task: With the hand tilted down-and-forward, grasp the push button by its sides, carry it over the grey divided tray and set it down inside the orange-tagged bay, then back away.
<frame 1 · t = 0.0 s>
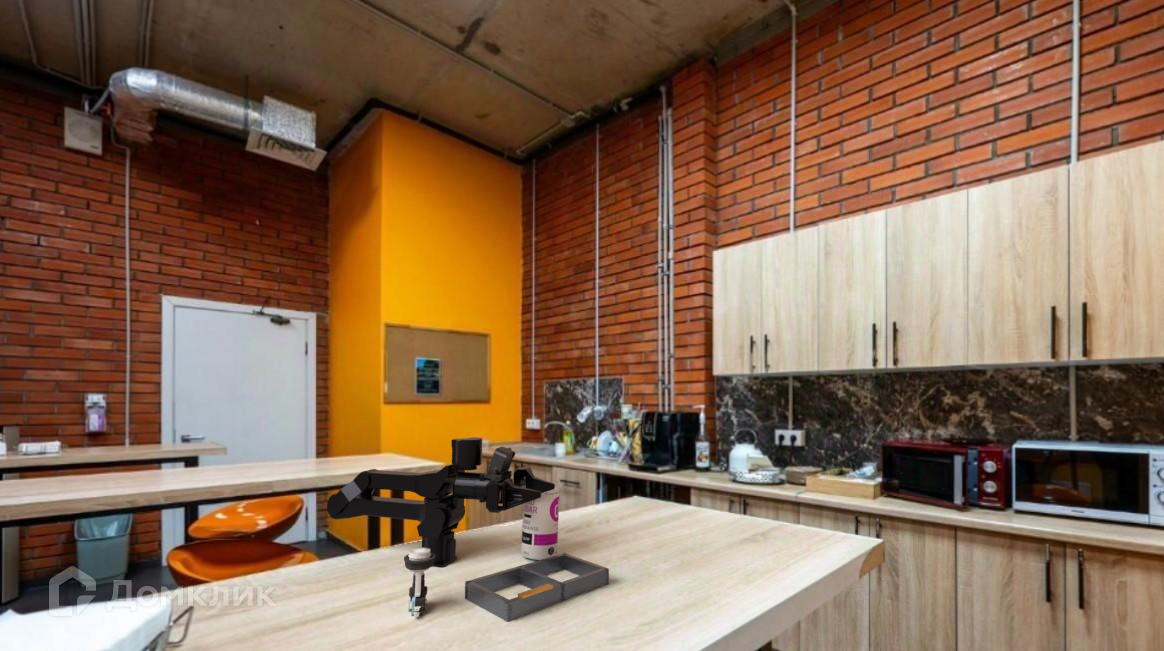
hand: (548, 490, 116), 17 cm above the table, tool horizontal, fingers open, 8 cm apart
supplement can: (538, 556, 125), on the table, touching gripper
push button: (417, 612, 95), on the table
grey divided tray: (539, 591, 105), on the table
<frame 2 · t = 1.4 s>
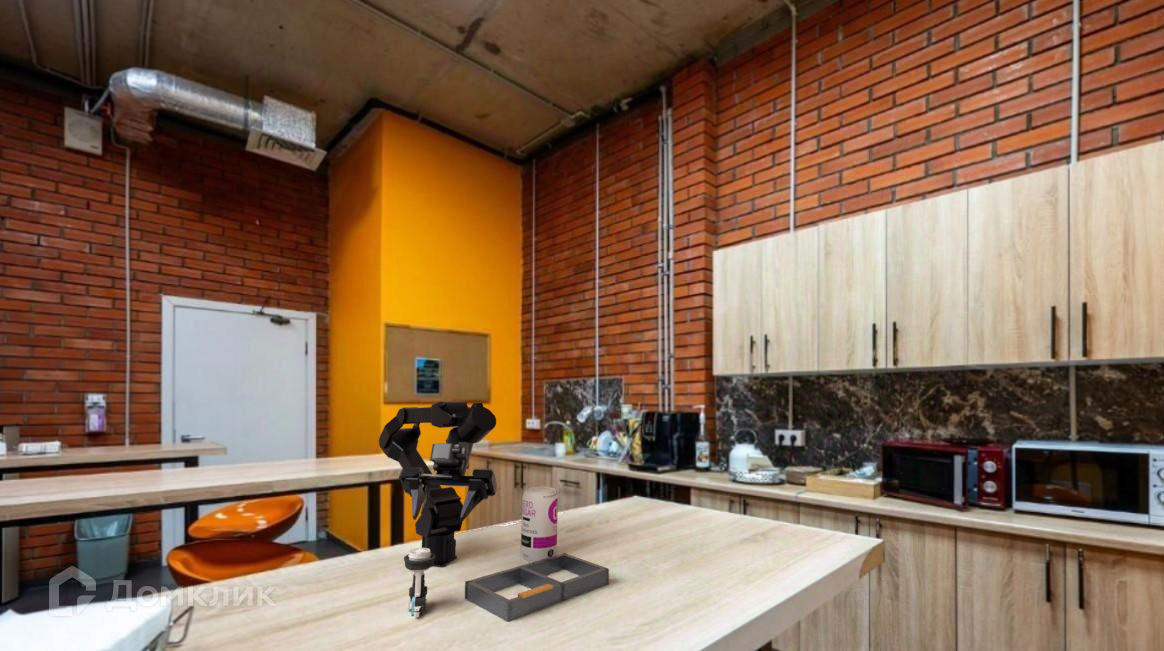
hand: (437, 519, 104), 14 cm above the table, tool tilted 45°, fingers open, 9 cm apart
supplement can: (538, 557, 125), on the table
everything else where it was.
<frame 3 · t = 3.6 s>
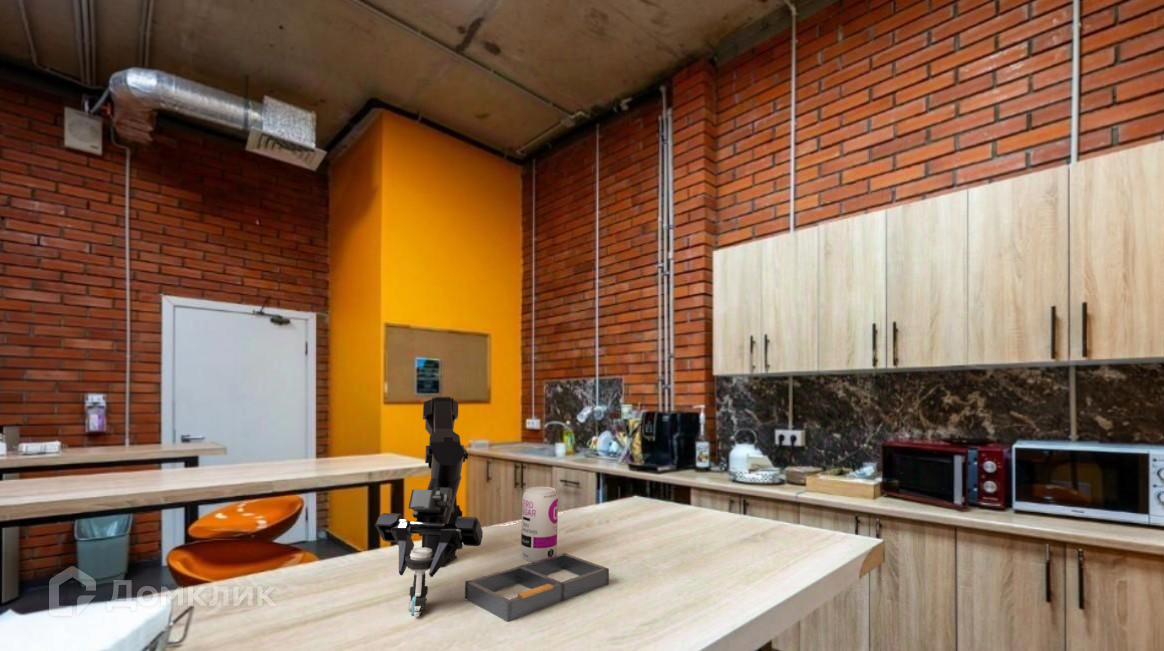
hand: (415, 574, 94), 7 cm above the table, tool tilted 45°, fingers closed on push button, 5 cm apart
push button: (417, 612, 95), on the table, touching gripper
everything else where it was.
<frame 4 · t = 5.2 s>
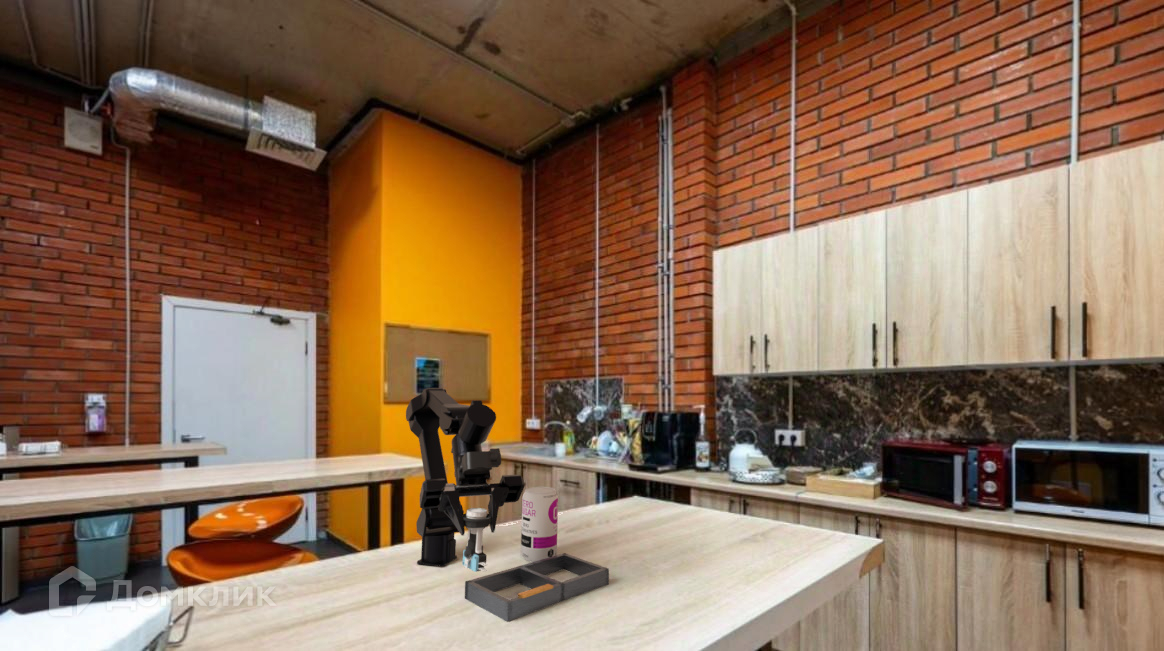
hand: (478, 532, 97), 13 cm above the table, tool tilted 45°, fingers closed on push button, 5 cm apart
push button: (474, 569, 98), point 6 cm above the table, touching gripper
everything else where it was.
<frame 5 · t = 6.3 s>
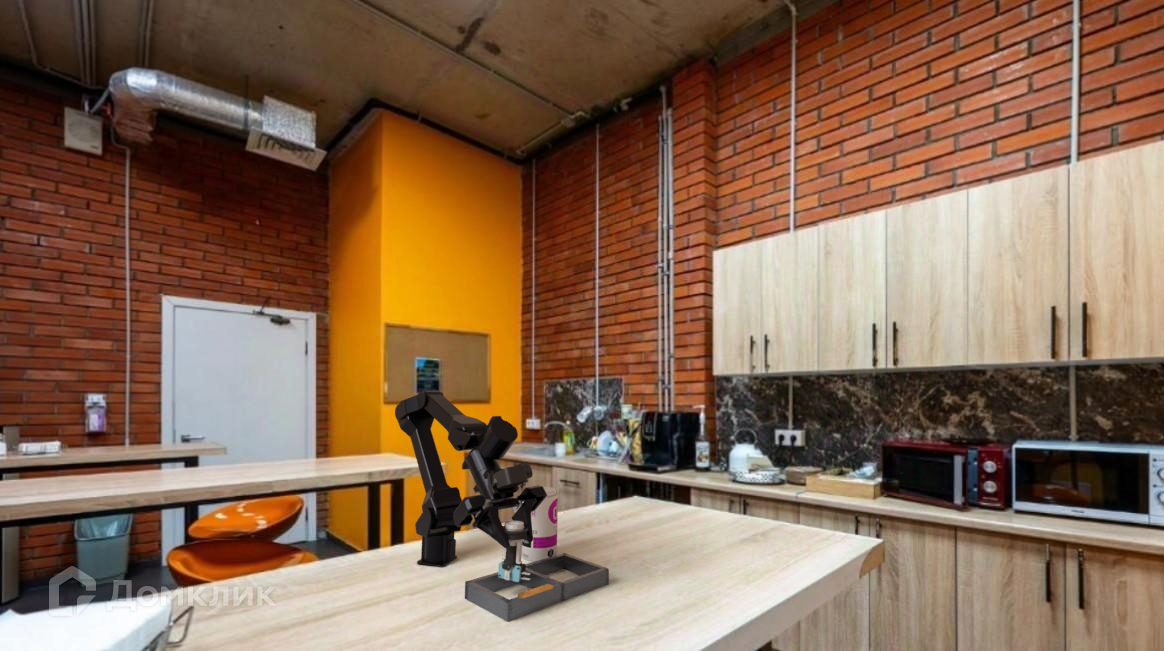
hand: (519, 544, 101), 10 cm above the table, tool tilted 45°, fingers closed on push button, 5 cm apart
push button: (513, 580, 102), point 3 cm above the table, touching gripper
everything else where it was.
when the fingers open (8 cm above the table, at t = 7.1 s): push button drops 1 cm, on the table.
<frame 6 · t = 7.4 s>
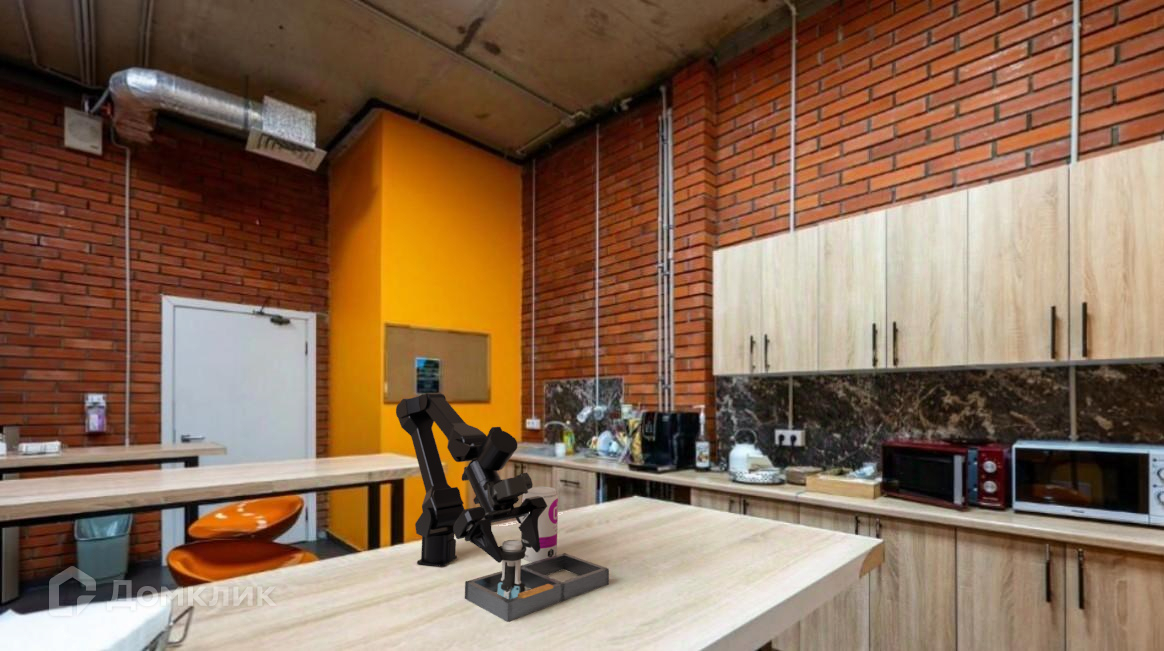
hand: (520, 556, 101), 8 cm above the table, tool tilted 45°, fingers open, 8 cm apart
push button: (513, 600, 101), on the table
everything else where it was.
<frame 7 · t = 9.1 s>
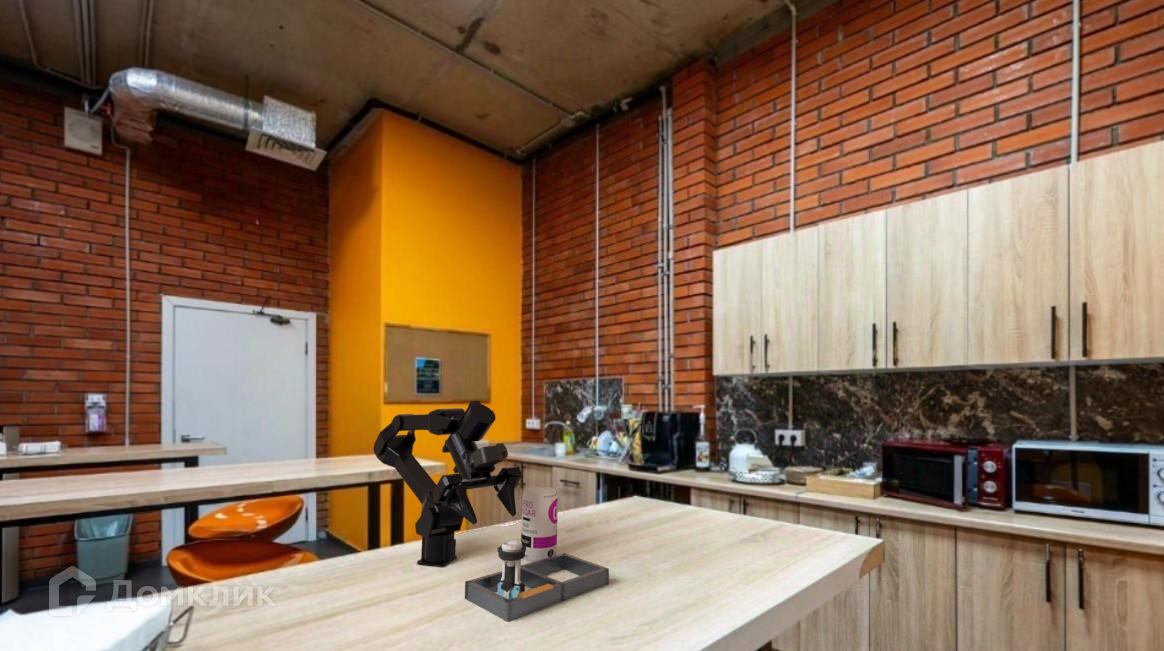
hand: (495, 519, 108), 13 cm above the table, tool tilted 45°, fingers open, 9 cm apart
nothing on the table moved.
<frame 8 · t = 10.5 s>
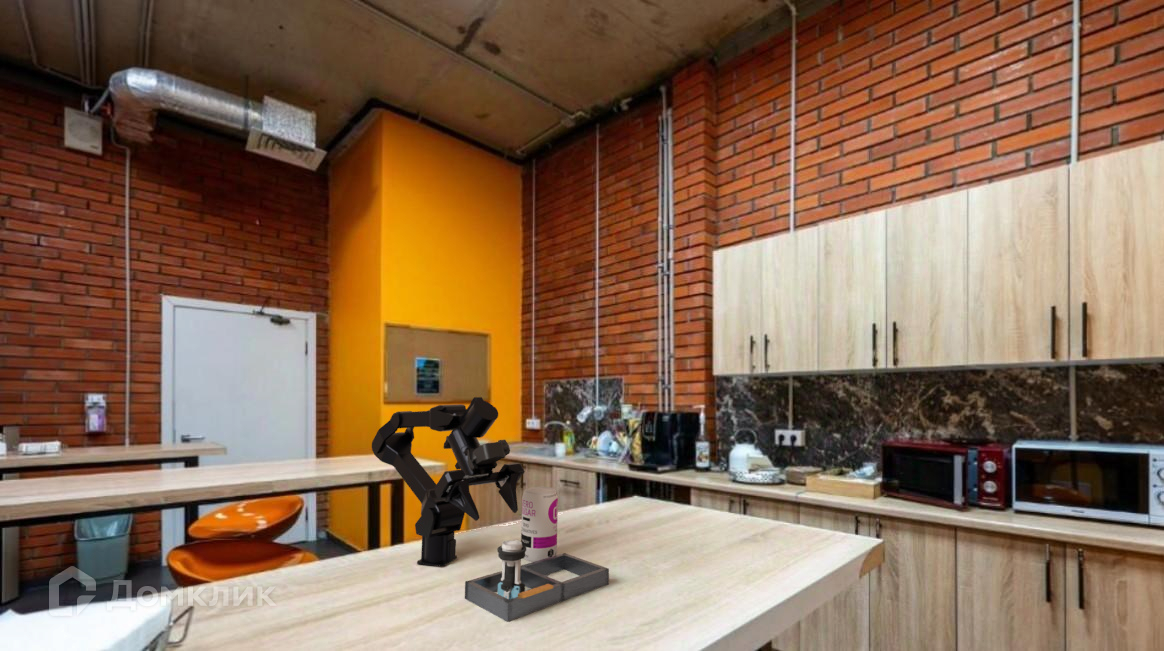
hand: (497, 515, 108), 14 cm above the table, tool tilted 45°, fingers open, 9 cm apart
nothing on the table moved.
at the end: push button inside the target area (0.2 cm from its centre), on the table; push button tilted 0°; the gripper is holding nothing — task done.
